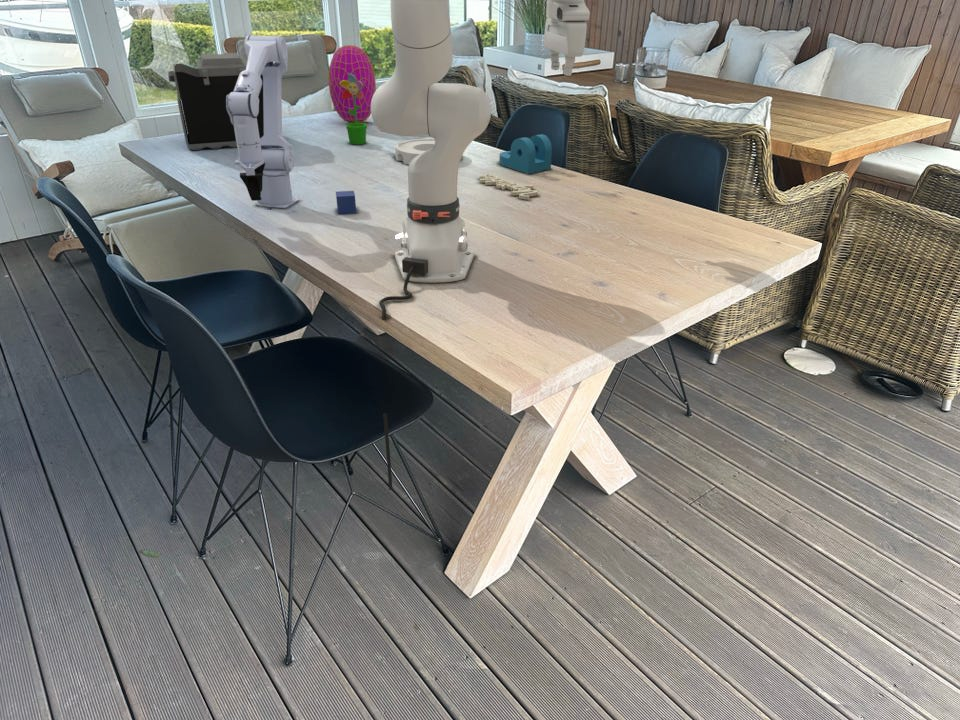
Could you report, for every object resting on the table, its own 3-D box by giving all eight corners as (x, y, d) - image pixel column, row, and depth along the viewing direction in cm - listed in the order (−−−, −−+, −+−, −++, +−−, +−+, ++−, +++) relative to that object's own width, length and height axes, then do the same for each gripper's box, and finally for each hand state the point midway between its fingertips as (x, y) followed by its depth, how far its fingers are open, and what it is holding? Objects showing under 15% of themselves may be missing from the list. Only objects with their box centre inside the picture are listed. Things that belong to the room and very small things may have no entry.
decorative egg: (362, 116, 305) (357, 42, 290) (386, 123, 292) (382, 46, 277) (324, 121, 294) (316, 45, 279) (347, 129, 281) (340, 49, 266)
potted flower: (342, 144, 260) (336, 73, 247) (351, 139, 266) (346, 70, 254) (365, 146, 257) (360, 74, 245) (374, 141, 264) (369, 71, 251)
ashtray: (454, 167, 232) (454, 155, 230) (388, 164, 235) (387, 152, 233) (466, 151, 252) (466, 140, 250) (404, 148, 255) (404, 137, 253)
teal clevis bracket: (550, 168, 233) (552, 137, 227) (527, 173, 227) (529, 141, 222) (515, 157, 245) (516, 127, 239) (493, 162, 239) (493, 131, 234)
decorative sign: (550, 191, 207) (525, 197, 202) (550, 194, 207) (525, 200, 202) (495, 172, 225) (471, 176, 220) (495, 174, 225) (471, 179, 220)
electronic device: (279, 131, 276) (269, 50, 261) (287, 144, 259) (276, 57, 243) (182, 138, 265) (165, 53, 250) (183, 151, 247) (164, 61, 232)
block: (355, 207, 195) (353, 190, 193) (356, 213, 191) (355, 195, 189) (337, 208, 194) (335, 191, 192) (338, 214, 190) (336, 196, 188)
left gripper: (234, 136, 178) (243, 188, 185) (229, 150, 166) (238, 205, 172) (262, 135, 179) (270, 187, 186) (259, 149, 167) (267, 203, 174)
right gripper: (539, 7, 171) (536, 66, 178) (566, 13, 154) (561, 78, 161) (563, 6, 172) (559, 66, 179) (592, 12, 155) (587, 78, 162)
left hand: (256, 195), depth 179 cm, fingers open, 7 cm apart
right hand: (561, 72), depth 170 cm, fingers open, 8 cm apart
